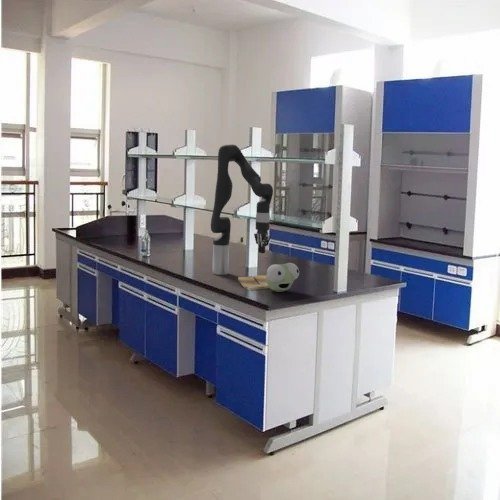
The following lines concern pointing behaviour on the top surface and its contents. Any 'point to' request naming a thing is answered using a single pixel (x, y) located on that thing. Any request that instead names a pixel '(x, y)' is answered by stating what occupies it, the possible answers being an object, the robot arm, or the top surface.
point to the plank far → (260, 279)
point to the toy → (281, 276)
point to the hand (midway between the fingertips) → (261, 252)
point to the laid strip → (257, 287)
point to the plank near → (247, 281)
